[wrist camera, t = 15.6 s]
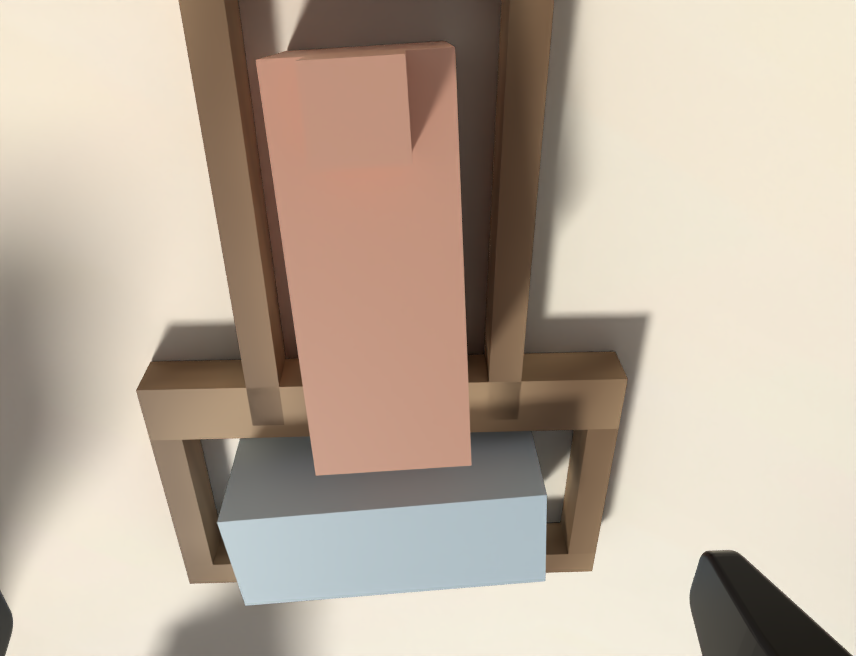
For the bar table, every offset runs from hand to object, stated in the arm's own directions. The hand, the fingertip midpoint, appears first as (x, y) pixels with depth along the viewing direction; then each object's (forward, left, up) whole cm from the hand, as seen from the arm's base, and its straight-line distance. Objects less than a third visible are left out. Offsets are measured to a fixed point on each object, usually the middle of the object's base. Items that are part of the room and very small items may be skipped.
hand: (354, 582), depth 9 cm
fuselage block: (0, +1, -12) cm, 12 cm away
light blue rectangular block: (0, +11, -13) cm, 17 cm away
